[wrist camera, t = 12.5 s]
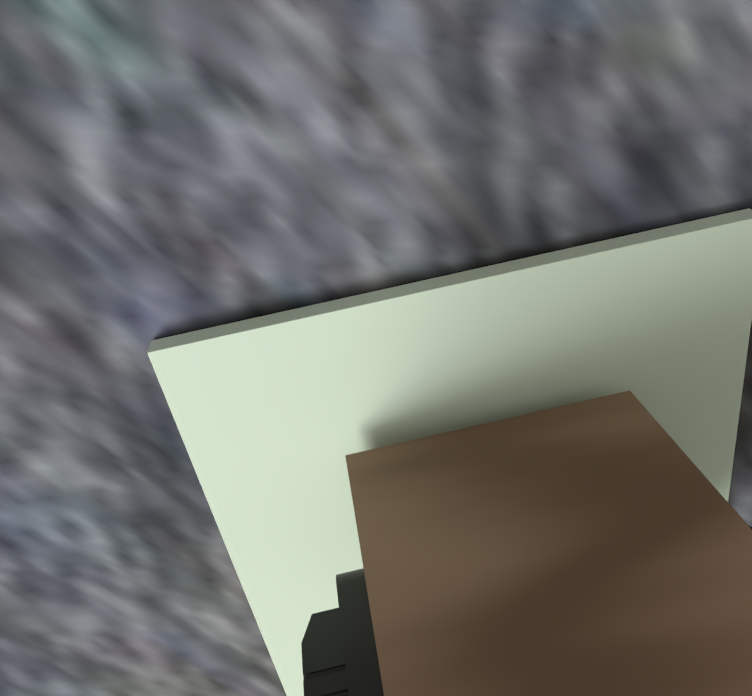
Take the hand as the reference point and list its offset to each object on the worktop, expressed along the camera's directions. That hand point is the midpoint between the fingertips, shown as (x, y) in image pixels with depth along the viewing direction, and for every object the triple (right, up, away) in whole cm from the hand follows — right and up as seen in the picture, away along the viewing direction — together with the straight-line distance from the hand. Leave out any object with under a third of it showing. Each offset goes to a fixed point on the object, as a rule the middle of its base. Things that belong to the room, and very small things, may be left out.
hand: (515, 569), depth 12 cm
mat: (0, +1, +2) cm, 2 cm away
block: (0, +1, +1) cm, 1 cm away
